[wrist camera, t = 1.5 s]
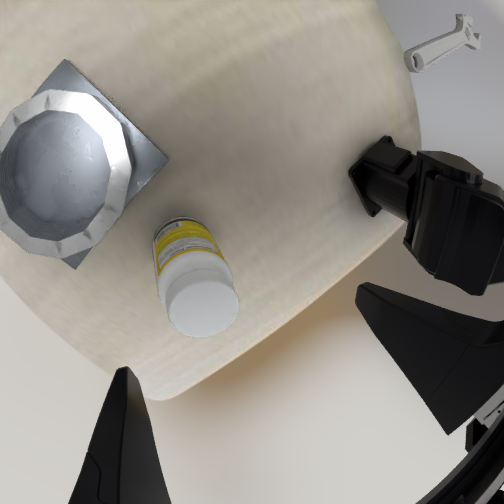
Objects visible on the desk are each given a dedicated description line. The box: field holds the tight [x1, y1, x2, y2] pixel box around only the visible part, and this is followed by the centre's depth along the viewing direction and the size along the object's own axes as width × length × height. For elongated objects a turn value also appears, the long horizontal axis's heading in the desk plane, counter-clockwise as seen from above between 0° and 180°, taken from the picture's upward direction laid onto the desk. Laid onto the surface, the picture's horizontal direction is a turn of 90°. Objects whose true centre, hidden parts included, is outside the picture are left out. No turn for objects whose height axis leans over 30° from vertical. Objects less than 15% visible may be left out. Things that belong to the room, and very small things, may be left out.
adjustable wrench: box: [404, 14, 481, 73], centre depth 18 cm, size 25×6×2 cm, turn 120°
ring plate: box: [0, 59, 169, 270], centre depth 13 cm, size 11×11×3 cm
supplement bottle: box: [152, 217, 239, 338], centre depth 18 cm, size 5×5×8 cm
